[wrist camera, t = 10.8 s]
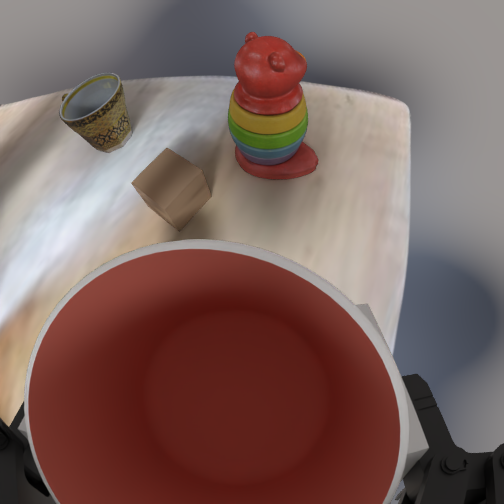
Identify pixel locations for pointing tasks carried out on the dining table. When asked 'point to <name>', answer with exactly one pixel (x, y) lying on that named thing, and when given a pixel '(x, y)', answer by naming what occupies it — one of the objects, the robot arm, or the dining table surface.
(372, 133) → the dining table surface
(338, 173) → the dining table surface
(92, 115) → the ceramic cup
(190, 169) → the walnut block
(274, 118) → the stacking bear
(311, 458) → the cup
